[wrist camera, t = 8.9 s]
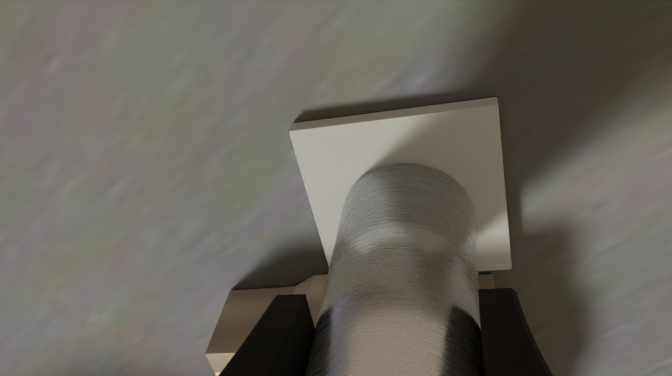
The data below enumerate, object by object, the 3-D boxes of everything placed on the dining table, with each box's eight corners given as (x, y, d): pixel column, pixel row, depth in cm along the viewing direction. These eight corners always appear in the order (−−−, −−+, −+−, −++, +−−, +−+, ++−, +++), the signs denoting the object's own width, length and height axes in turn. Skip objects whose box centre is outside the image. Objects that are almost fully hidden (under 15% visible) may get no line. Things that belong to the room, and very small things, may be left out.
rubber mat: (291, 123, 16) (288, 131, 15) (497, 96, 14) (498, 104, 14) (334, 271, 18) (333, 281, 18) (510, 259, 17) (511, 269, 17)
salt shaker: (344, 266, 17) (271, 636, 10) (336, 160, 15) (238, 523, 8) (471, 272, 17) (493, 669, 9) (481, 163, 15) (516, 555, 8)
